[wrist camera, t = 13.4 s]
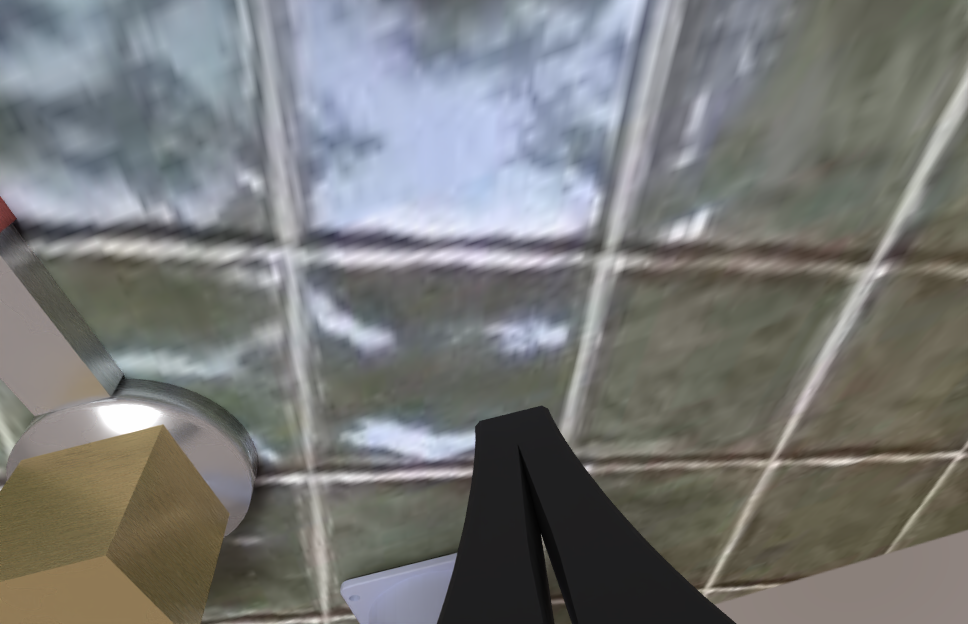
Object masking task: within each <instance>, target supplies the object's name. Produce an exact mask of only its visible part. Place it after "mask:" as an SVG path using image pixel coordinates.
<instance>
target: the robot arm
mask: <svg viewBox="0 0 968 624" xmlns="http://www.w3.org/2000/svg"><path fill="white" fill-rule="evenodd" d="M475 435H476V441H475V458H474V468H473V476H472V484H471V490H470V495H469V501H468V507H467V512H466V518H465V523H464V528H463V532H462V536H461V540H460V544H459V548H458V552H457V553H454V554H450V555H446V556H442V557H438V558H434V559H430V560H426V561H422V562H418V563H414V564H410V565H406V566H402V567H398V568H394V569H390V570H386V571H382V572H378V573H374V574H370V575H366V576H362V577H357V578H353V579H349V580H346V581H344V582H343V583H342V585H341V591H340V592H341V595H342V596H343V598H344V600H345V601H346V603H347V604H348V606H349V607H350V609H351V610H352V612H353V614H354V615H355V617H356V618H357V620H358V621H359V623H360V624H554V618H553V611H552V604H551V598H550V591H549V584H548V578H547V571H546V565H545V558H544V551H543V545H542V538H543V541H544V544H545V546H546V549H547V552H548V555H549V558H550V561H551V564H552V567H553V570H554V573H555V575H556V578H557V581H558V584H559V587H560V590H561V593H562V596H563V599H564V602H565V604H566V607H567V610H568V613H569V616H570V619H571V622H572V624H736V623H735V622H734V621H733V620H732V619H730V618H729V617H728V616H727V615H726V614H724V613H723V612H722V611H721V610H720V609H719V608H717V607H716V606H715V605H714V604H713V603H711V602H710V601H709V600H708V599H707V598H706V597H704V596H703V595H702V594H701V593H700V592H699V591H698V590H697V589H696V588H695V587H694V586H692V585H691V584H690V583H689V582H688V581H687V580H686V579H685V578H684V577H683V576H682V575H681V574H680V573H678V572H677V571H676V570H675V569H674V568H673V567H672V566H671V565H670V564H669V563H668V562H667V561H666V560H665V559H664V558H663V557H662V556H661V555H660V554H659V553H658V552H657V551H656V550H655V549H654V548H653V547H652V546H651V545H650V544H649V543H648V542H647V541H646V540H645V539H644V537H643V536H642V535H641V534H640V533H639V532H638V531H637V530H636V529H635V528H634V527H633V526H632V524H631V523H630V522H629V521H628V520H627V519H626V518H625V517H624V516H623V514H622V513H621V512H620V511H619V510H618V509H617V508H616V506H615V505H614V504H613V503H612V502H611V500H610V499H609V498H608V497H607V496H606V495H605V493H604V492H603V491H602V490H601V488H600V487H599V486H598V484H597V483H596V482H595V481H594V479H593V478H592V477H591V476H590V474H589V473H588V472H587V470H586V469H585V468H584V466H583V465H582V464H581V462H580V461H579V460H578V458H577V457H576V455H575V454H574V452H573V451H572V449H571V448H570V447H569V445H568V444H567V442H566V441H565V439H564V437H563V436H562V434H561V433H560V431H559V429H558V427H557V426H556V424H555V422H554V420H553V418H552V416H551V414H550V412H549V410H548V408H545V407H543V406H538V407H534V408H530V409H526V410H522V411H518V412H514V413H510V414H506V415H502V416H498V417H494V418H490V419H486V420H482V421H479V423H478V424H477V425H476V426H475ZM541 535H542V538H541Z"/></svg>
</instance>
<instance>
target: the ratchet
mask: <svg viewBox="0 0 968 624" xmlns="http://www.w3.org/2000/svg"><path fill="white" fill-rule="evenodd" d="M16 219H17V218H16V217H15V216H14V214H13V213H12V212H11V210H10V209H9V208H8V206H7V205H6V203H5V202H4V201H3V199H2V198H1V197H0V378H1V379H2V380H3V382H4V383H5V384H6V385H7V386H8V387H9V388H10V389H11V390H12V392H13V393H14V394H15V395H16V396H17V397H18V398H19V399H20V400H21V401H22V403H23V404H24V405H25V406H26V407H27V408H28V409H29V410H30V411H31V413H32V414H33V415H34V416H35V417H34V419H33V420H32V422H31V423H30V425H29V426H28V427H27V429H26V430H25V432H24V433H23V435H22V436H21V437H20V439H19V440H18V442H17V443H16V445H15V446H14V448H13V449H12V452H11V454H10V456H9V458H8V463H7V481H8V479H9V478H10V476H11V475H12V473H13V472H14V470H15V469H16V467H17V466H18V464H19V463H20V461H21V460H24V459H28V458H32V457H36V456H40V455H44V454H48V453H52V452H56V451H60V450H64V449H67V448H71V447H75V446H79V445H83V444H87V443H91V442H95V441H99V440H103V439H107V438H111V437H115V436H119V435H123V434H127V433H131V432H135V431H139V430H143V429H147V428H150V427H154V426H158V425H162V424H163V425H164V426H165V427H166V429H167V430H168V431H169V433H170V434H171V435H172V437H173V438H174V440H175V441H176V442H177V444H178V445H179V446H180V448H181V449H182V450H183V452H184V453H185V454H186V456H187V457H188V458H189V460H190V461H191V462H192V464H193V465H194V466H195V468H196V469H197V471H198V472H199V473H200V475H201V476H202V477H203V479H204V480H205V481H206V483H207V484H208V485H209V487H210V488H211V489H212V491H213V492H214V493H215V495H216V496H217V497H218V499H219V500H220V502H221V503H222V504H223V506H224V507H225V508H226V510H227V511H228V512H229V514H230V515H229V518H228V522H227V526H226V530H225V533H224V537H226V536H227V535H228V534H230V533H231V532H232V531H233V530H234V529H235V528H236V527H237V526H238V525H239V524H240V523H241V521H242V520H243V519H244V517H245V515H246V513H247V511H248V508H249V504H250V501H251V496H252V492H253V488H254V484H255V479H256V475H257V470H258V457H257V452H256V448H255V445H254V443H253V441H252V439H251V437H250V435H249V433H248V432H247V431H246V429H245V428H244V427H243V425H242V424H241V423H240V422H239V421H238V420H237V419H236V418H235V417H234V416H233V415H232V414H230V413H229V412H228V411H227V410H225V409H224V408H223V407H221V406H220V405H218V404H217V403H215V402H213V401H212V400H210V399H208V398H206V397H204V396H202V395H200V394H198V393H195V392H193V391H190V390H187V389H185V388H182V387H178V386H175V385H171V384H168V383H162V382H157V381H152V380H141V379H121V378H122V376H123V375H124V374H123V372H122V371H121V370H120V368H119V367H118V366H117V364H116V363H115V361H114V360H113V359H112V357H111V356H110V355H109V353H108V352H107V351H106V349H105V348H104V347H103V345H102V344H101V343H100V341H99V340H98V339H97V337H96V336H95V334H94V333H93V332H92V330H91V329H90V328H89V326H88V325H87V324H86V322H85V321H84V320H83V318H82V317H81V316H80V314H79V313H78V312H77V310H76V309H75V307H74V306H73V305H72V303H71V302H70V301H69V299H68V298H67V297H66V295H65V294H64V293H63V291H62V290H61V289H60V287H59V286H58V285H57V283H56V282H55V280H54V279H53V278H52V276H51V275H50V274H49V272H48V271H47V270H46V268H45V267H44V266H43V264H42V263H41V262H40V260H39V259H38V258H37V256H36V255H35V253H34V252H33V251H32V249H31V248H30V247H29V245H28V244H27V243H26V241H25V240H24V239H23V237H22V236H21V235H20V233H19V232H18V231H17V229H16V228H15V226H14V225H13V224H12V222H14V221H15V220H16ZM224 537H223V538H224Z"/></svg>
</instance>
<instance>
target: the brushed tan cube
mask: <svg viewBox="0 0 968 624" xmlns="http://www.w3.org/2000/svg"><path fill="white" fill-rule="evenodd" d="M229 515H230V514H229V512H228V511H227V510H226V508H225V507H224V506H223V504H222V503H221V502H220V500H219V499H218V497H217V496H216V495H215V493H214V492H213V491H212V489H211V488H210V487H209V485H208V484H207V483H206V481H205V480H204V479H203V477H202V476H201V475H200V473H199V472H198V471H197V469H196V468H195V466H194V465H193V464H192V462H191V461H190V460H189V458H188V457H187V456H186V454H185V453H184V452H183V450H182V449H181V448H180V446H179V445H178V444H177V442H176V441H175V440H174V438H173V437H172V435H171V434H170V433H169V431H168V430H167V429H166V427H165V426H164V425H163V424H162V425H158V426H154V427H150V428H147V429H143V430H139V431H135V432H131V433H127V434H123V435H119V436H115V437H111V438H107V439H103V440H99V441H95V442H91V443H87V444H83V445H79V446H75V447H71V448H67V449H64V450H60V451H56V452H52V453H48V454H44V455H40V456H36V457H32V458H28V459H24V460H21V461H20V463H19V464H18V466H17V467H16V469H15V470H14V472H13V473H12V475H11V476H10V478H9V479H8V481H7V482H6V484H5V485H4V487H3V488H2V490H1V491H0V624H201V620H202V617H203V613H204V609H205V605H206V602H207V598H208V594H209V590H210V586H211V583H212V579H213V575H214V571H215V568H216V564H217V560H218V556H219V552H220V549H221V545H222V541H223V537H224V533H225V530H226V526H227V522H228V518H229Z"/></svg>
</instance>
